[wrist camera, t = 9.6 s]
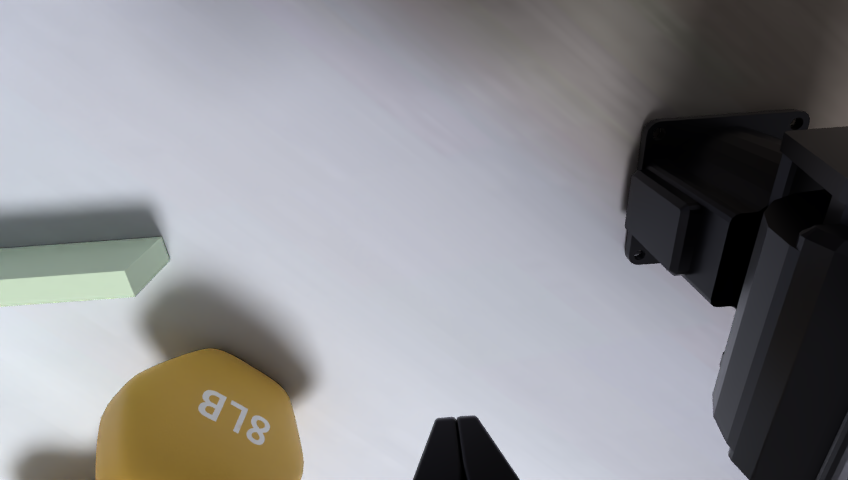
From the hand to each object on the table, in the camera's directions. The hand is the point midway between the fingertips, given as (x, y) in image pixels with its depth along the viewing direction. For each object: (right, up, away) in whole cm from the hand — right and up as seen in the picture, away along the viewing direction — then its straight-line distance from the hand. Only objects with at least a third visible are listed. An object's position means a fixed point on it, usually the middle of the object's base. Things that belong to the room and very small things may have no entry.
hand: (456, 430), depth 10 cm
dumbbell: (-15, -8, +17) cm, 25 cm away
